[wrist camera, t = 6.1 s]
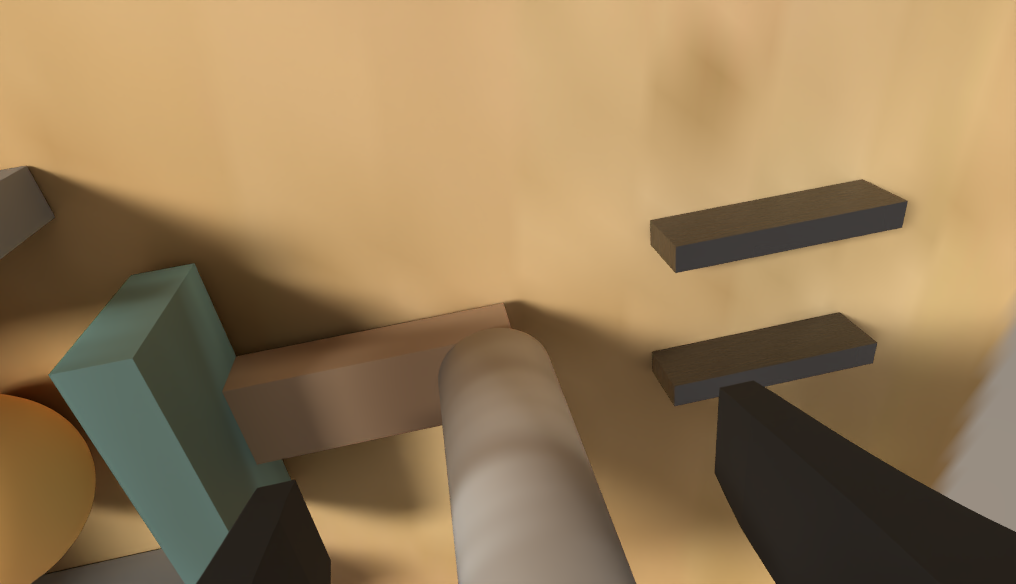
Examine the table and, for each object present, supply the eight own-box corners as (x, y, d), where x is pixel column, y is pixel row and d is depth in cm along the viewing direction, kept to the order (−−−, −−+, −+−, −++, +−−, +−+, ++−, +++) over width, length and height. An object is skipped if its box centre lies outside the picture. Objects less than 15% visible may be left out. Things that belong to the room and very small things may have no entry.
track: (652, 370, 15) (674, 406, 14) (650, 220, 13) (675, 247, 12) (836, 331, 16) (873, 362, 15) (861, 179, 14) (907, 200, 12)
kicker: (248, 504, 15) (115, 1003, 8) (130, 275, 12) (-283, 775, 5) (552, 438, 15) (686, 846, 8) (522, 201, 12) (698, 543, 5)
